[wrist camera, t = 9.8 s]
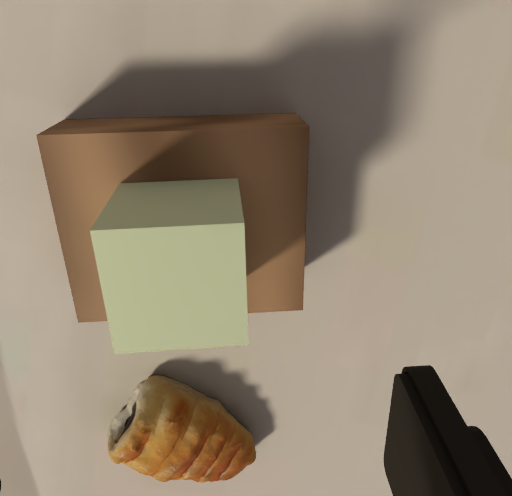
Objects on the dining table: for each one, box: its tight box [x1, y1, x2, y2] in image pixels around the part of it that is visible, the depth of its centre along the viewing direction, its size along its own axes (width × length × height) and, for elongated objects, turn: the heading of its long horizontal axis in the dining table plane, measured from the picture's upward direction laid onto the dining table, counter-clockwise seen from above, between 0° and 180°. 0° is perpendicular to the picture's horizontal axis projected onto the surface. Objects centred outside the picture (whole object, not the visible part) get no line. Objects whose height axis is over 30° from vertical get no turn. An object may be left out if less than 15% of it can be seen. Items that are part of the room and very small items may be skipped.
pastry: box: [108, 375, 256, 482], centre depth 29 cm, size 9×7×4 cm
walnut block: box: [37, 113, 309, 322], centre depth 22 cm, size 11×9×4 cm
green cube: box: [90, 178, 249, 354], centre depth 18 cm, size 5×5×5 cm
